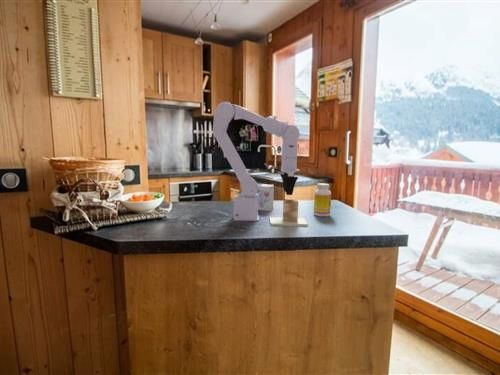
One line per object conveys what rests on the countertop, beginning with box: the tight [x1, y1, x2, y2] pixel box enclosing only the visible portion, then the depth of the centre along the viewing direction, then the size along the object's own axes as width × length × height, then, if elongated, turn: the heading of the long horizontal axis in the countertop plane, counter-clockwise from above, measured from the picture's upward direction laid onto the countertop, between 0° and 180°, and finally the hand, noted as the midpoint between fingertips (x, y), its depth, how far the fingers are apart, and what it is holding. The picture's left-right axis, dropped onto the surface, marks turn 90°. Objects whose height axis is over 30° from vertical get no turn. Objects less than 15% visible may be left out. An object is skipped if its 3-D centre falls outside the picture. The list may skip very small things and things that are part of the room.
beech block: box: [282, 198, 299, 222], centre depth 107 cm, size 5×4×8 cm
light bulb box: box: [257, 183, 275, 212], centre depth 130 cm, size 11×7×11 cm, turn 73°
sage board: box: [269, 216, 309, 227], centre depth 108 cm, size 13×9×1 cm
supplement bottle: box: [313, 182, 332, 217], centre depth 120 cm, size 7×7×13 cm
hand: (288, 193), depth 113 cm, fingers open, 7 cm apart
